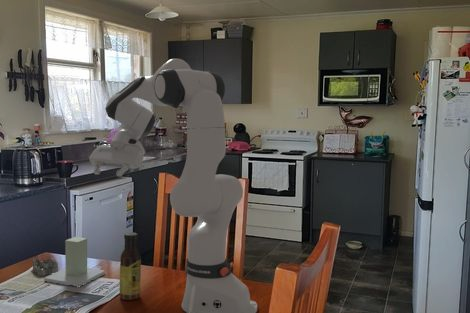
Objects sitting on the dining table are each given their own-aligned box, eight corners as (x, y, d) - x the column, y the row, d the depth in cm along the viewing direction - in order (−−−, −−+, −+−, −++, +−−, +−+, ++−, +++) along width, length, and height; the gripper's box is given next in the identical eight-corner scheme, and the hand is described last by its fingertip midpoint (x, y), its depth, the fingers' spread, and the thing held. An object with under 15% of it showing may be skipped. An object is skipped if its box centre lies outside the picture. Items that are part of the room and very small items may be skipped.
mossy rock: (31, 268, 166) (31, 257, 166) (53, 265, 170) (53, 254, 170) (36, 277, 157) (36, 265, 157) (59, 273, 161) (59, 262, 161)
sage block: (87, 272, 159) (87, 238, 158) (77, 277, 155) (77, 242, 153) (75, 270, 161) (75, 236, 160) (65, 274, 156) (65, 240, 155)
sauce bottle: (135, 302, 138) (135, 237, 137) (115, 300, 140) (116, 236, 138) (143, 294, 145) (144, 232, 143) (125, 292, 146) (125, 230, 144)
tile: (105, 273, 162) (105, 270, 162) (79, 287, 148) (79, 284, 148) (72, 268, 166) (72, 265, 166) (44, 281, 153) (44, 277, 153)
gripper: (95, 138, 174) (78, 166, 166) (143, 141, 167) (128, 170, 159) (102, 149, 179) (86, 177, 170) (149, 152, 172) (134, 182, 163)
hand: (107, 174), depth 165 cm, fingers open, 8 cm apart
